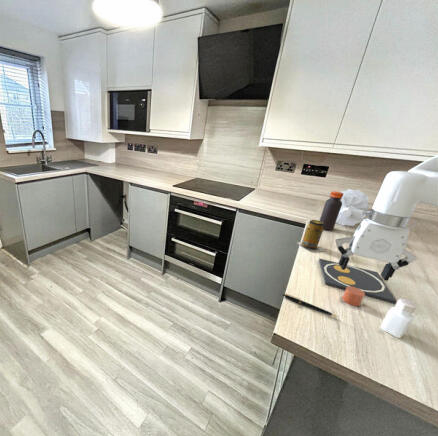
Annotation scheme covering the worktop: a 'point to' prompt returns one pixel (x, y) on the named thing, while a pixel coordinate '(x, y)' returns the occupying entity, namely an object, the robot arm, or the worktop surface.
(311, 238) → the condiment
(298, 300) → the fountain pen
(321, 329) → the worktop surface
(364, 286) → the face board
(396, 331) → the pepper shaker
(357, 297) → the red faceted block
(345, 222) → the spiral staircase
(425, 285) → the worktop surface
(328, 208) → the bottle
